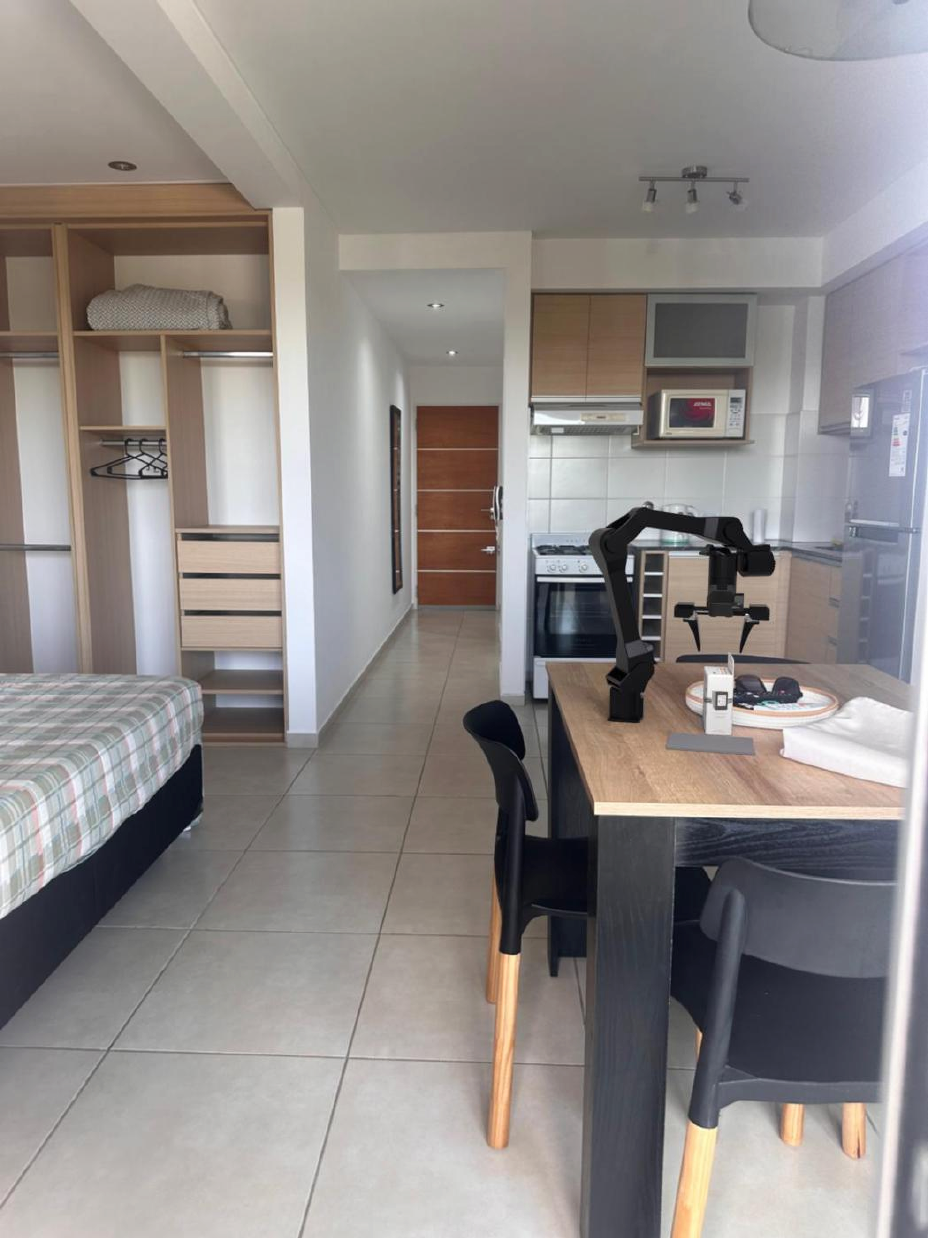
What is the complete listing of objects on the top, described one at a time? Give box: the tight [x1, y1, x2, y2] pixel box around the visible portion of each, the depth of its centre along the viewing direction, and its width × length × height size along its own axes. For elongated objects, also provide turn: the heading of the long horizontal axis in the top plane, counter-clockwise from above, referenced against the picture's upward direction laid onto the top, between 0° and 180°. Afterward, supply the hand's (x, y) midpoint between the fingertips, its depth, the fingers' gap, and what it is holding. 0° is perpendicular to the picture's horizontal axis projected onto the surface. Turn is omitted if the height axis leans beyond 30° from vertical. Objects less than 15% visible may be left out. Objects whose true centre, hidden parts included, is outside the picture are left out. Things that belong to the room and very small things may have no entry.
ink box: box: [701, 651, 735, 736], centre depth 161 cm, size 9×5×15 cm, turn 168°
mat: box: [666, 731, 756, 756], centre depth 152 cm, size 15×10×1 cm, turn 73°
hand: (719, 652), depth 173 cm, fingers open, 8 cm apart
